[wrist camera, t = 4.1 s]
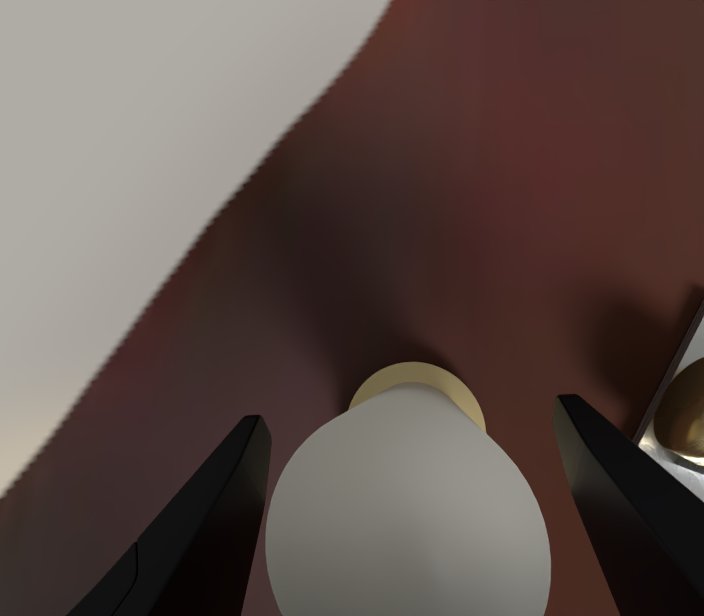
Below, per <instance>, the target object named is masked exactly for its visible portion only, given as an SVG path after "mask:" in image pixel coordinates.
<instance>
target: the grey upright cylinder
mask: <svg viewBox="0 0 704 616" xmlns="http://www.w3.org/2000/svg"><path fill="white" fill-rule="evenodd" d="M266 560H267V569H268V574H269V578H270V583H271V587H272V591H273V594H274V596H275V599H276V602H277V605H278V608H279V610H280V612H281V614H282V616H544V613H545V609H546V606H547V601H548V595H549V589H550V579H551V558H550V548H549V540H548V536H547V531H546V527H545V522H544V519H543V517H542V514H541V511H540V508H539V505H538V503H537V500H536V498H535V496H534V494H533V492H532V490H531V488H530V486H529V484H528V483H527V481H526V480H525V478H524V477H523V475H522V474H521V472H520V471H519V469H518V468H517V466H516V465H515V464H514V462H513V461H512V460H511V459H510V458H509V457H508V455H507V454H506V453H505V452H504V451H503V450H502V449H501V448H500V447H499V446H498V445H497V444H496V443H495V442H494V441H493V440H492V439H491V438H490V437H489V436H488V435H487V434H486V427H485V422H484V417H483V414H482V412H481V409H480V406H479V404H478V402H477V400H476V399H475V397H474V396H473V394H472V393H471V391H470V390H469V389H468V388H467V387H466V385H465V384H464V383H463V382H461V381H460V380H459V379H458V378H457V377H456V376H454V375H453V374H451V373H450V372H448V371H446V370H444V369H442V368H440V367H437V366H434V365H431V364H427V363H421V362H404V363H398V364H394V365H391V366H388V367H386V368H383V369H381V370H379V371H378V372H376V373H375V374H373V375H372V376H371V377H370V378H368V379H367V380H366V381H365V382H364V383H363V384H362V385H361V387H360V388H359V389H358V391H357V392H356V394H355V395H354V397H353V399H352V401H351V404H350V406H349V409H348V411H347V412H345V413H343V414H341V415H340V416H338V417H336V418H334V419H333V420H331V421H330V422H328V423H326V424H325V425H323V426H322V427H320V428H319V429H318V430H317V431H316V432H314V433H313V434H312V435H311V436H310V437H308V438H307V440H306V441H305V442H304V443H303V444H302V445H301V446H300V447H299V448H298V449H297V450H296V452H295V453H294V455H293V456H292V458H291V459H290V460H289V462H288V463H287V465H286V467H285V469H284V470H283V472H282V474H281V476H280V478H279V480H278V483H277V485H276V488H275V491H274V493H273V496H272V499H271V503H270V508H269V512H268V517H267V526H266Z"/></svg>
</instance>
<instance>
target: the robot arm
mask: <svg viewBox="0 0 704 616" xmlns="http://www.w3.org/2000/svg"><path fill="white" fill-rule="evenodd" d="M552 424H553V429H554V433H555V436H556V440H557V444H558V447H559V451H560V454H561V458H562V462H563V465H564V469H565V472H566V476H567V480H568V483H569V487H570V490H571V493H572V496H573V499H574V501H575V504H576V507H577V509H578V512H579V514H580V517H581V519H582V521H583V524H584V526H585V529H586V531H587V534H588V536H589V539H590V541H591V544H592V546H593V549H594V551H595V554H596V556H597V559H598V561H599V564H600V566H601V569H602V571H603V573H604V576H605V578H606V581H607V583H608V586H609V588H610V591H611V593H612V596H613V598H614V601H615V603H616V606H617V608H618V611H619V613H620V616H704V502H703V501H702V500H701V499H700V498H699V497H697V496H696V495H695V494H694V493H693V492H691V491H690V490H689V489H688V488H687V487H686V486H684V485H683V484H682V483H681V482H680V481H679V480H677V479H676V478H675V477H674V476H673V475H672V474H670V473H669V472H668V471H667V470H666V469H664V468H663V467H662V466H661V465H660V464H659V463H657V462H656V461H655V460H654V459H653V458H652V457H650V456H649V455H648V454H647V453H646V452H645V451H643V450H642V449H641V448H640V447H639V446H638V445H636V444H635V443H634V442H633V441H632V440H630V439H629V438H628V437H627V436H626V435H625V434H623V433H622V432H621V431H620V430H619V429H618V428H616V427H615V426H614V425H613V424H612V423H611V422H609V421H608V420H607V419H606V418H605V417H604V416H602V415H601V414H600V413H599V412H598V411H596V410H595V409H594V408H593V407H592V406H591V405H589V404H588V403H587V402H586V401H585V400H584V399H582V398H581V397H580V396H579V395H576V394H563V395H558V396H557V397H556V399H555V405H554V411H553V417H552ZM271 445H272V439H271V434H270V432H269V430H268V428H267V425H266V423H265V421H264V419H263V417H262V416H261V415H247V416H245V417H243V418H242V419H241V420H240V422H239V423H238V424H237V425H236V426H235V427H234V428H233V430H232V431H231V432H230V433H229V434H228V435H227V436H226V438H225V439H224V440H223V441H222V442H221V443H220V445H219V446H218V447H217V448H216V449H215V450H214V451H213V453H212V454H211V455H210V456H209V457H208V458H207V459H206V461H205V462H204V463H203V464H202V465H201V466H200V467H199V469H198V470H197V471H196V472H195V473H194V474H193V476H192V477H191V478H190V479H189V480H188V481H187V482H186V484H185V485H184V486H183V487H182V488H181V489H180V490H179V492H178V493H177V494H176V495H175V496H174V497H173V499H172V500H171V501H170V502H169V503H168V504H167V505H166V507H165V508H164V509H163V510H162V511H161V512H160V513H159V515H158V516H157V517H156V518H155V519H154V520H153V521H152V523H151V524H150V525H149V526H148V527H147V528H146V530H145V531H144V532H143V533H142V534H141V535H140V536H139V538H138V539H137V542H134V543H133V544H132V545H131V547H130V548H129V549H128V550H127V551H126V552H125V553H124V555H123V556H122V557H121V558H120V559H119V560H118V561H117V562H116V564H115V565H114V566H113V567H112V568H111V569H110V570H109V571H108V572H107V574H106V575H105V576H104V577H103V578H102V579H101V580H100V581H99V582H98V583H97V584H96V585H95V586H94V587H93V588H92V590H91V591H90V592H89V593H88V594H87V595H86V596H85V597H84V598H83V599H82V600H81V601H80V602H79V603H78V604H77V605H76V606H75V607H74V608H73V609H72V610H71V611H70V612H69V613H68V614H67V615H66V616H241V612H242V608H243V603H244V598H245V594H246V589H247V585H248V580H249V575H250V571H251V566H252V562H253V557H254V553H255V548H256V543H257V539H258V534H259V530H260V525H261V520H262V516H263V511H264V506H265V499H266V491H267V482H268V473H269V463H270V454H271Z"/></svg>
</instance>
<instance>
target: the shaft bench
mask: <svg viewBox="0 0 704 616" xmlns="http://www.w3.org/2000/svg"><path fill="white" fill-rule="evenodd" d="M632 441H633V442H634V443H635V444H636V445H638V446H639V447H640V448H641V449H642V450H643V451H645V452H646V453H647V454H648V455H649V456H650V457H652V458H653V459H654V460H655V461H656V462H657V463H659V464H660V465H661V466H662V467H663V468H664V469H666V470H667V471H668V472H669V473H670V474H672V475H673V476H674V477H675V478H676V479H677V480H679V481H680V482H681V483H682V484H683V485H684V486H686V487H687V488H688V489H689V490H690V491H691V492H693V493H694V494H695V495H696V496H697V497H699V498H700V499H701V500H702V501H703V502H704V299H703V301H702V303H701V305H700V307H699V309H698V311H697V313H696V315H695V317H694V319H693V321H692V323H691V325H690V327H689V328H688V330H687V332H686V334H685V336H684V338H683V340H682V342H681V344H680V346H679V348H678V350H677V352H676V354H675V356H674V358H673V360H672V362H671V364H670V366H669V368H668V370H667V372H666V374H665V376H664V378H663V380H662V382H661V384H660V386H659V388H658V390H657V391H656V393H655V395H654V397H653V399H652V401H651V403H650V405H649V407H648V409H647V411H646V413H645V415H644V417H643V419H642V421H641V423H640V425H639V427H638V429H637V431H636V433H635V435H634V437H633V439H632Z"/></svg>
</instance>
